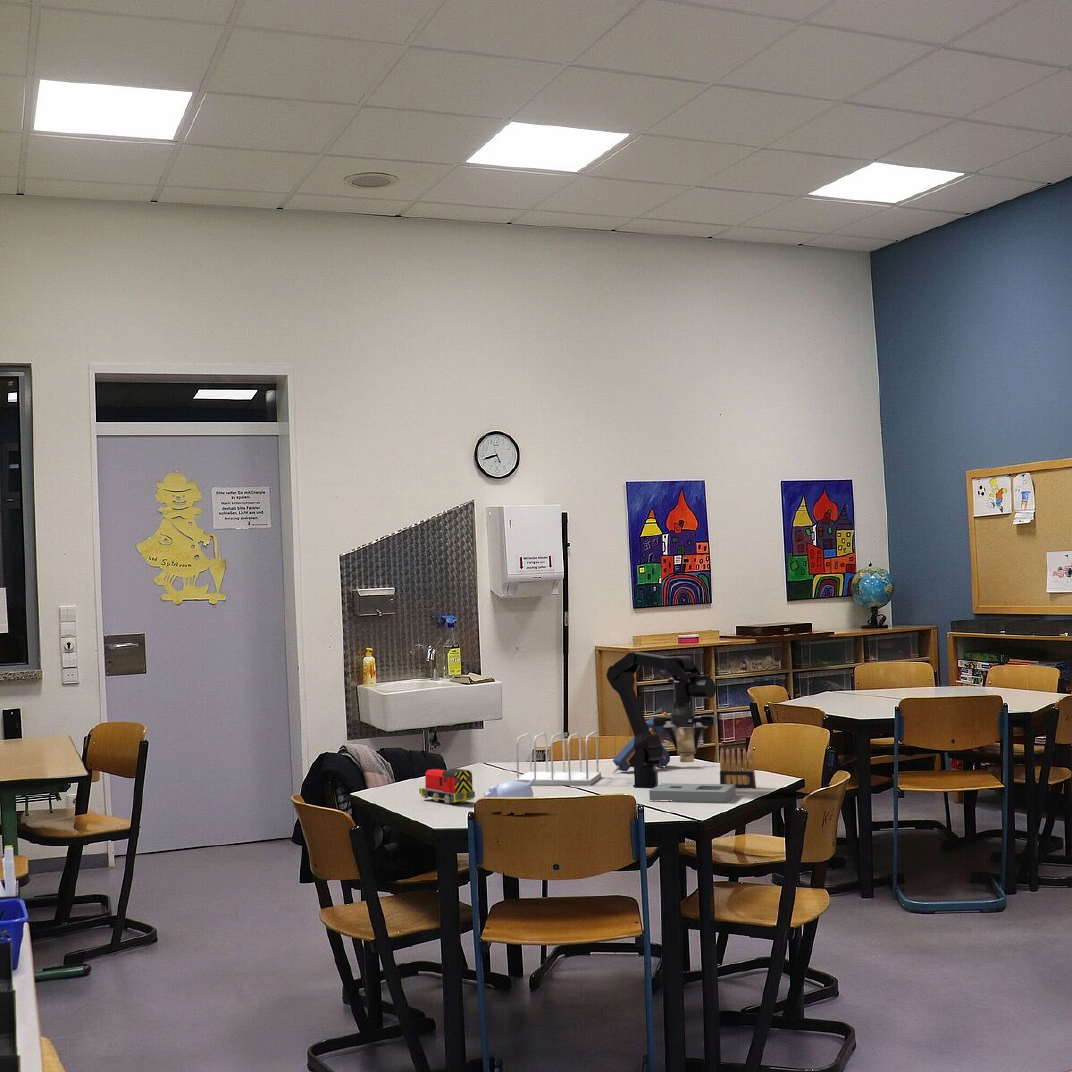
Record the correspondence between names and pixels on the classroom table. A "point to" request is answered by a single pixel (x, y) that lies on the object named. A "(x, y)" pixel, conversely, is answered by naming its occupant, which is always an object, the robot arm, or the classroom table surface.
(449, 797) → the toy train
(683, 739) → the beech peg
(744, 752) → the ammunition clip
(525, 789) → the hippopotamus toy
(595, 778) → the file sorter
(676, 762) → the classroom table surface
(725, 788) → the two-hole board
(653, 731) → the glue gun
